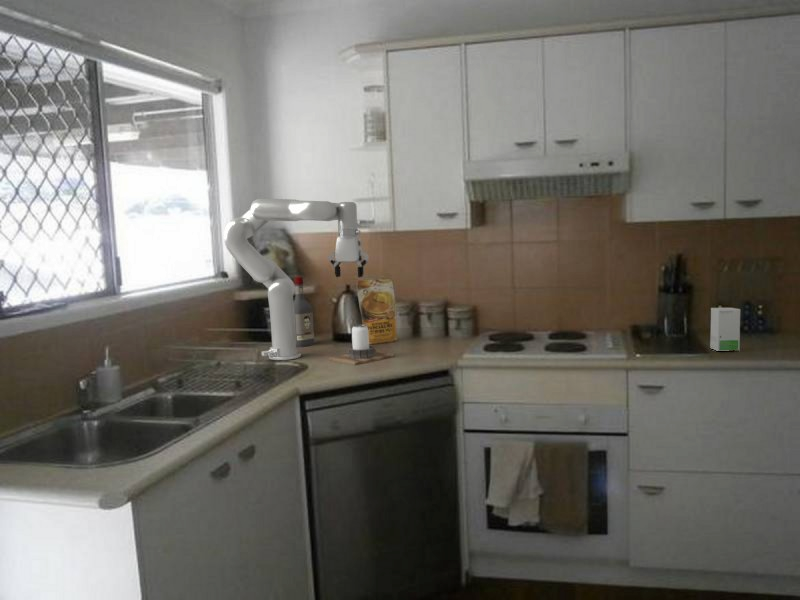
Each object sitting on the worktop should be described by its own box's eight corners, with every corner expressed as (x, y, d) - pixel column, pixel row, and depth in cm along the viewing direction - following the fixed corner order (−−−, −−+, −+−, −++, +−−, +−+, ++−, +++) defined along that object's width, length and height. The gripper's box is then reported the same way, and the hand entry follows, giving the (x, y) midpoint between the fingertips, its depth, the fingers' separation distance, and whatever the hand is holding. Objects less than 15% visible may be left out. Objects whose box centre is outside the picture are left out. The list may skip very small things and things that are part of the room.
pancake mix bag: (356, 343, 297) (352, 279, 294) (395, 338, 305) (392, 276, 302) (362, 345, 291) (358, 280, 288) (401, 340, 299) (399, 277, 296)
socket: (354, 365, 251) (354, 354, 251) (329, 359, 263) (328, 349, 263) (395, 356, 264) (394, 346, 264) (369, 351, 276) (368, 342, 276)
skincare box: (717, 352, 245) (717, 309, 244) (709, 349, 252) (709, 307, 250) (740, 351, 245) (741, 308, 244) (731, 348, 252) (732, 306, 250)
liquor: (288, 345, 300) (283, 277, 297) (305, 342, 306) (301, 276, 303) (299, 347, 294) (295, 278, 290) (317, 344, 300) (313, 276, 296)
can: (349, 356, 263) (347, 326, 262) (360, 353, 268) (359, 323, 267) (361, 358, 259) (360, 327, 258) (373, 355, 264) (371, 324, 263)
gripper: (371, 233, 268) (372, 276, 270) (332, 233, 274) (333, 276, 276) (364, 233, 261) (365, 277, 263) (323, 234, 267) (325, 277, 269)
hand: (349, 276), depth 270 cm, fingers open, 9 cm apart
